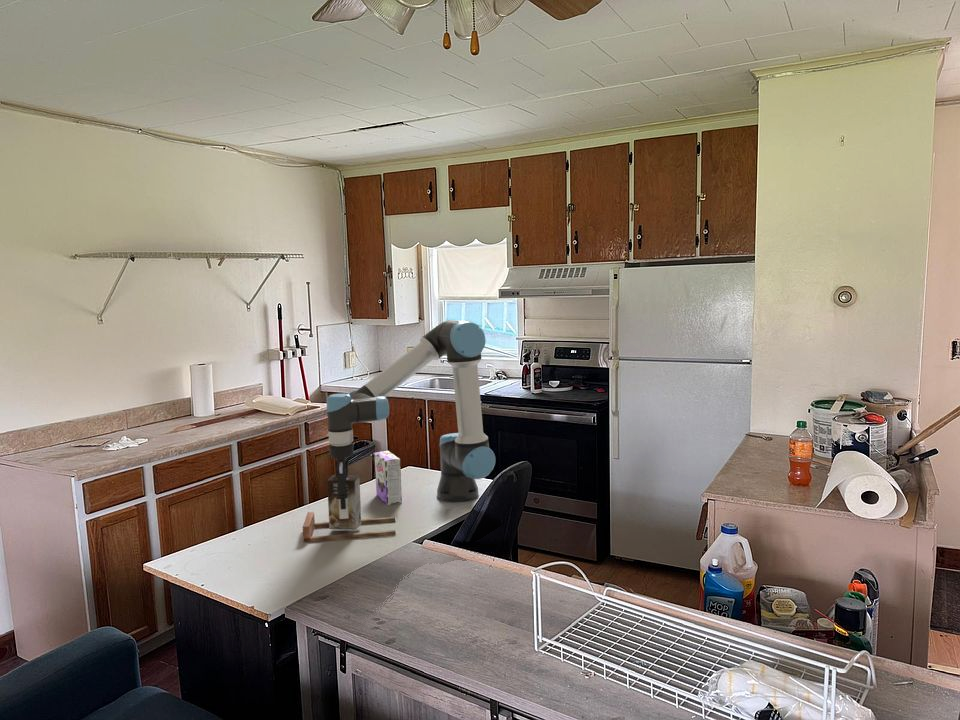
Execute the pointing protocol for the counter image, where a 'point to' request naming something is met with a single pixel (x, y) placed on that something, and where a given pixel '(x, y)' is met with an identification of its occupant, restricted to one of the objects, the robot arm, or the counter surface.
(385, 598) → the counter surface
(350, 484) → the coffee box
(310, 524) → the channel
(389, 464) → the candy box
